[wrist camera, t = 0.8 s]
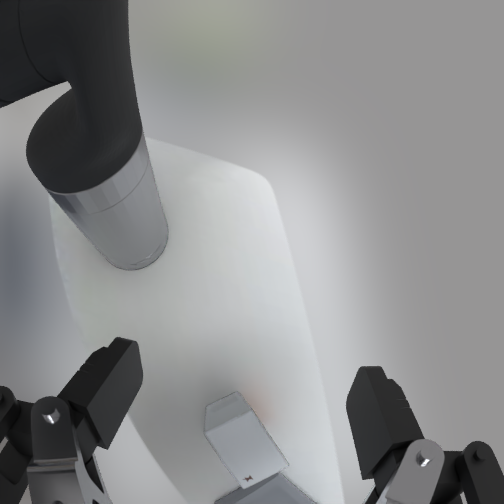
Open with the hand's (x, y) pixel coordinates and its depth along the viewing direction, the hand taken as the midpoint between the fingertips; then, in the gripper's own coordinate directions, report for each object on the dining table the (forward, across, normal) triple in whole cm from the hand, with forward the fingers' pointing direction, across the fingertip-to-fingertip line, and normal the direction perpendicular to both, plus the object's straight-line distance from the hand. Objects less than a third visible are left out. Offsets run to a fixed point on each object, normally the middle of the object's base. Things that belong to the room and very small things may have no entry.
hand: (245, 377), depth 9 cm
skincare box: (+13, +1, +19) cm, 23 cm away
